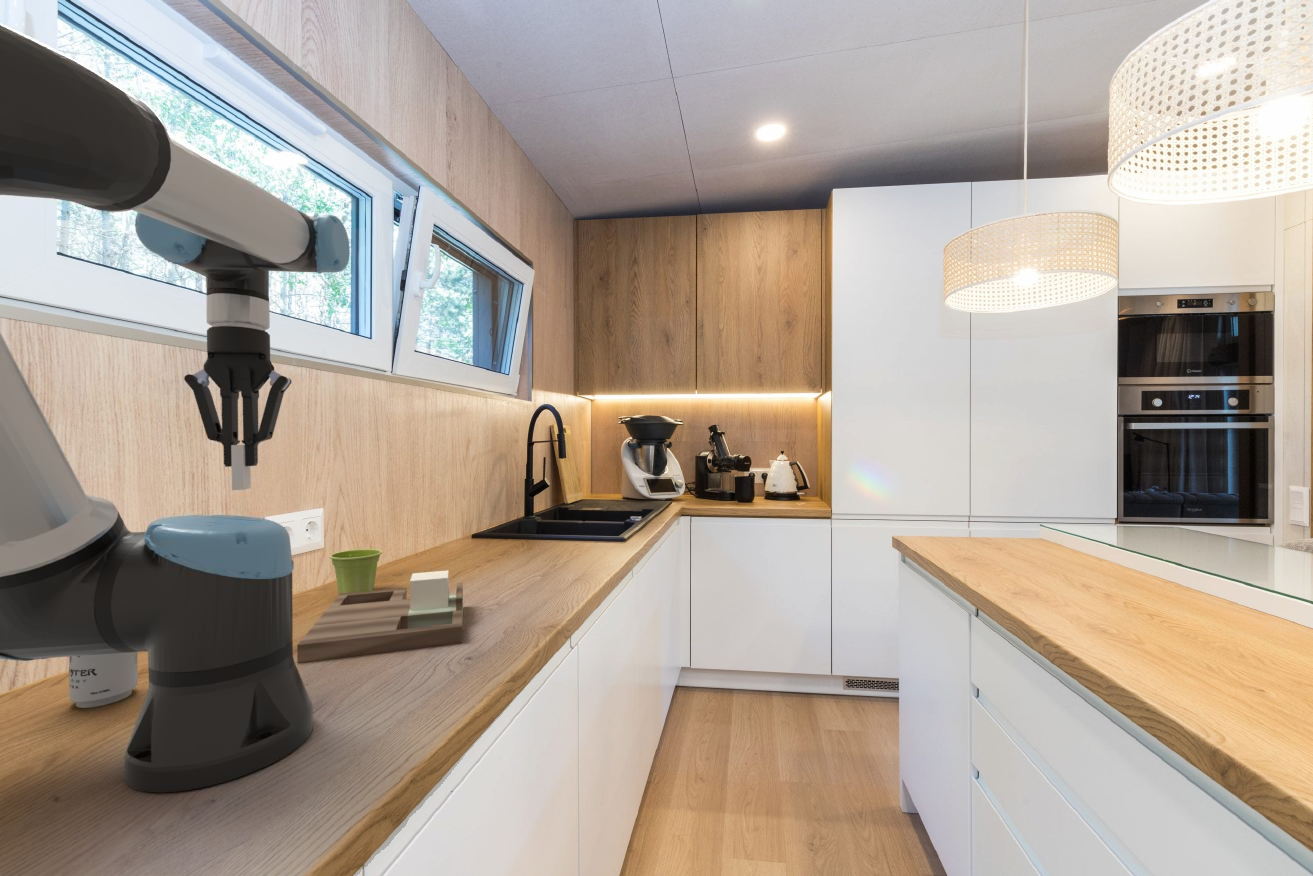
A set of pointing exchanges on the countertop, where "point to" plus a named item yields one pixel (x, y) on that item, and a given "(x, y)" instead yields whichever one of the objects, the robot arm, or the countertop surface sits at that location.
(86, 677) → the energy drink can
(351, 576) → the plant pot
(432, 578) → the block
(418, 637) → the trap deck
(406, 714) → the countertop surface
